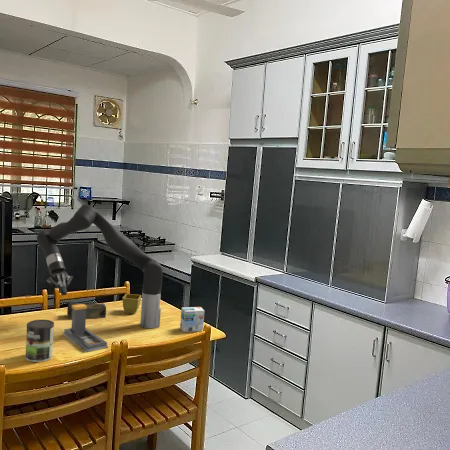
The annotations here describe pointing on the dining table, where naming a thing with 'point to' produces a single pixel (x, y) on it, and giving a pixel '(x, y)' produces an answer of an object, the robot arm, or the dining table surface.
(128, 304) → the flower pot
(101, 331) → the dining table surface
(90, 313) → the beverage carton
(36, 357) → the coffee can
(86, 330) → the fader console
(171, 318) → the dining table surface
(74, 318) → the fader tab
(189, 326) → the light bulb box
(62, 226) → the robot arm
